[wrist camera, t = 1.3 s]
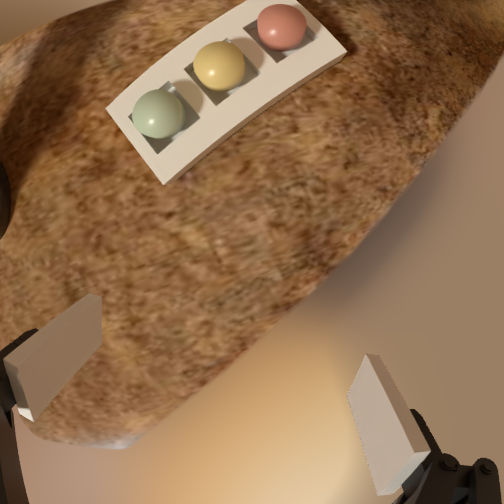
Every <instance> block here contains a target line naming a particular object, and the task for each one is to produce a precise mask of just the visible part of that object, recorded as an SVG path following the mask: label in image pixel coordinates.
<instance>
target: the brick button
mask: <svg viewBox="0 0 504 504" xmlns="http://www.w3.org/2000/svg"><path fill="white" fill-rule="evenodd" d="M306 25H307V22H306V18H305V16H304V15H303V13H302V12H301V11H300V10H298V9H297V8H295V7H293V6H290V5H286V4H274V5H271V6H268V7H266V8H264V9H263V10H262V11H261V12H260V14H259V16H258V19H257V26H258V37H259V40H260V41H261V43H262V44H263V45H264V46H265V47H267V48H269V49H271V50H273V51H278V52H287V51H291V50H293V49H295V48H297V47H298V46H299V45H300V44H301V42H302V40H303V37H304V33H305V30H306Z"/></svg>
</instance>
